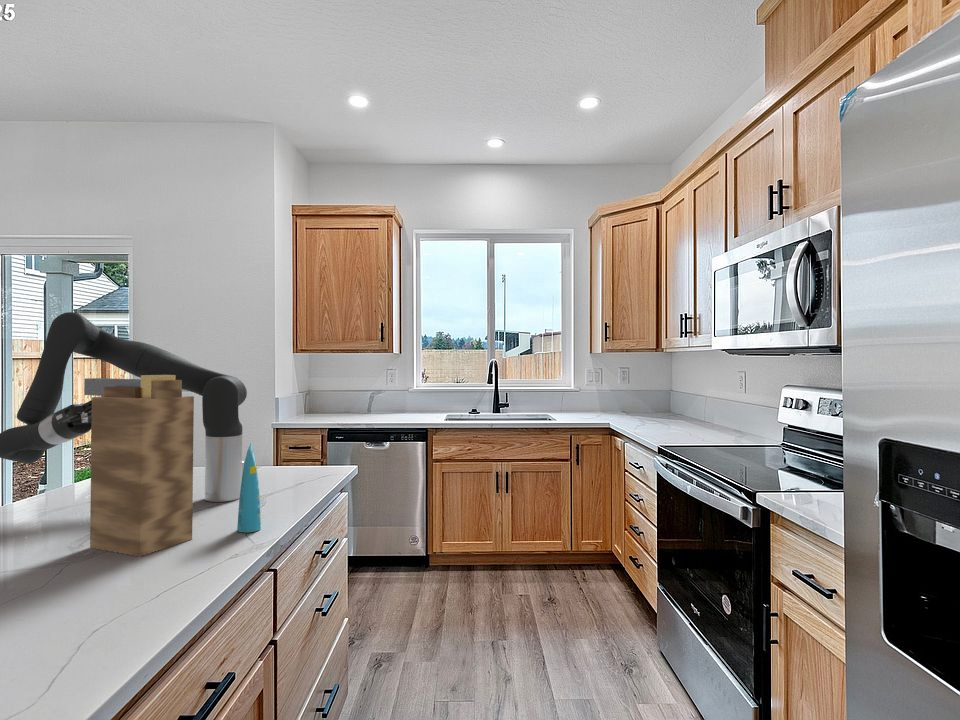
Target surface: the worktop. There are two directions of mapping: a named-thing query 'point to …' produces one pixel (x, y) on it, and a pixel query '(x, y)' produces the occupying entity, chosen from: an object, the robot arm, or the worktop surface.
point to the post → (141, 469)
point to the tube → (249, 496)
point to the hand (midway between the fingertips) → (115, 401)
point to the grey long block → (124, 384)
